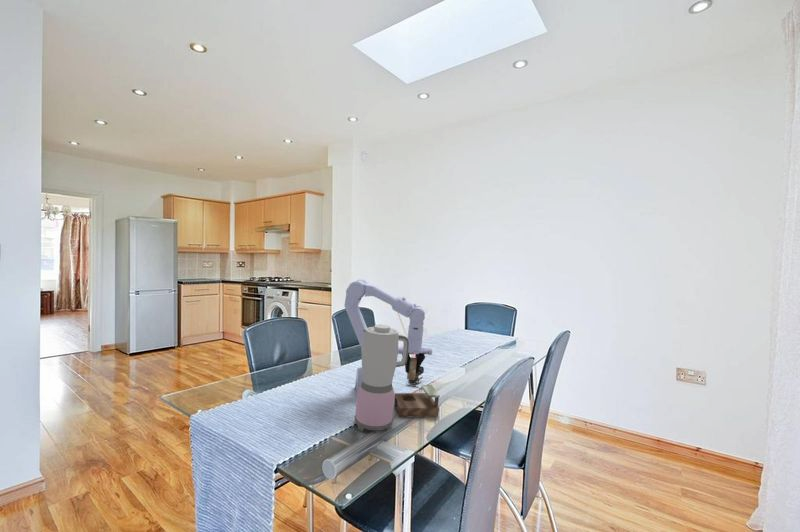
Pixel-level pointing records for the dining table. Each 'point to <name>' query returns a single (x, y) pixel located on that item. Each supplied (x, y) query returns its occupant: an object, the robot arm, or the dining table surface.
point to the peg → (412, 369)
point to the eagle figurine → (418, 374)
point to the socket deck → (418, 403)
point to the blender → (379, 377)
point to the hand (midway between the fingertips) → (411, 372)
